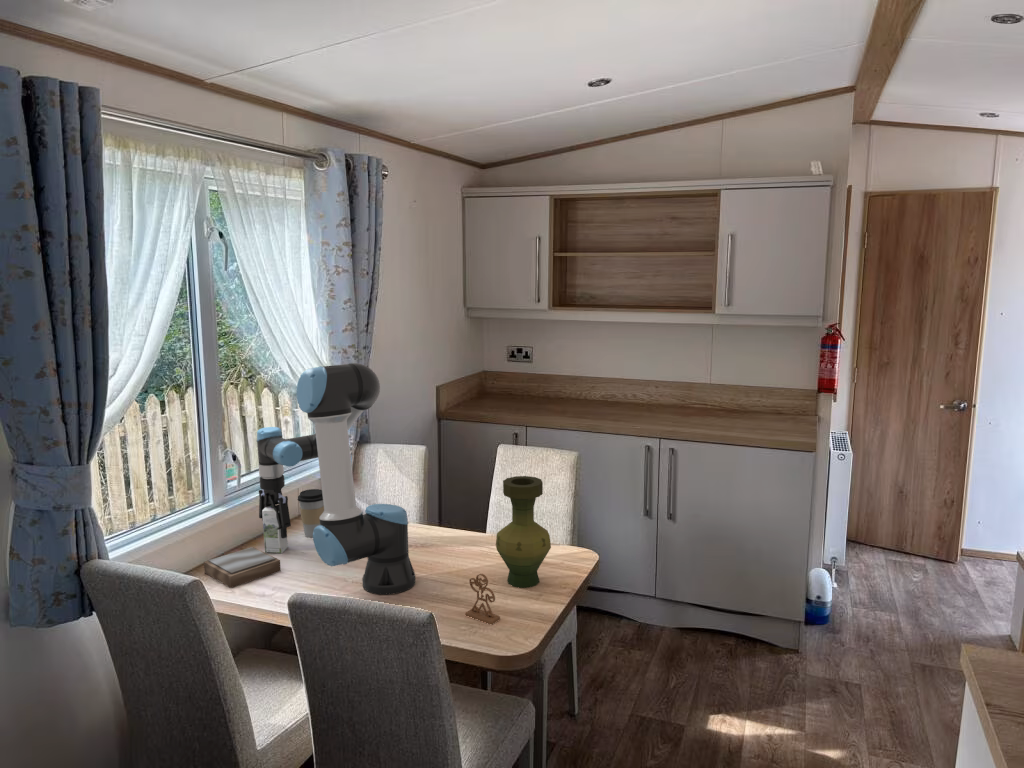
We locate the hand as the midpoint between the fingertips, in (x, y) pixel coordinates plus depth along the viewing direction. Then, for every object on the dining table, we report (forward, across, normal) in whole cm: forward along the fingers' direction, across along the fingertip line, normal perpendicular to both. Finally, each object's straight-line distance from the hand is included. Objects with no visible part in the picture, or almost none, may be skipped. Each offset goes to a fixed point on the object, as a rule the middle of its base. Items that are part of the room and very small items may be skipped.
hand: (276, 543), depth 246 cm
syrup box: (+2, 0, 0) cm, 2 cm away
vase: (+2, -76, -35) cm, 84 cm away
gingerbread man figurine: (+3, -83, -11) cm, 84 cm away
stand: (+2, -8, +16) cm, 18 cm away
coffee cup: (+2, +3, -16) cm, 16 cm away
